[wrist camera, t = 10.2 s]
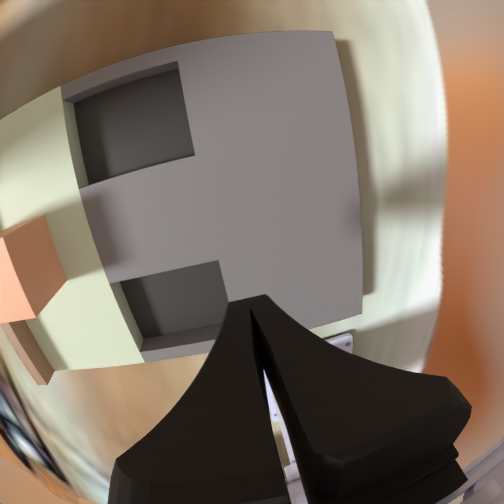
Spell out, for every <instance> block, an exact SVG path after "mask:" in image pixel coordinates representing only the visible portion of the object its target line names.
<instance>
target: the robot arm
mask: <svg viewBox="0 0 504 504" xmlns="http://www.w3.org/2000/svg"><path fill="white" fill-rule="evenodd" d="M347 342H348V343H347ZM346 343H347V344H346ZM352 349H353V336H352V335H351V334H350V333H346V334H342V335H339V336H336V337H333V338H329V339H326V340H323V339H322V338H320V337H319V336H317V335H315V334H314V333H312V332H311V331H309V330H308V329H306V328H305V327H304V326H302V325H301V324H300V323H298V322H297V321H296V320H294V319H293V318H292V317H291V316H289V315H288V314H287V313H286V312H285V311H283V310H282V309H281V308H280V307H279V306H278V305H277V304H276V303H275V302H274V301H273V300H272V299H271V298H270V297H269V296H268V295H266V294H263V295H258V296H254V297H250V298H245V299H241V300H236V301H231V302H229V303H228V304H227V306H226V311H225V315H224V319H223V322H222V325H221V327H220V330H219V332H218V335H217V337H216V340H215V342H214V344H213V346H212V348H211V351H210V353H209V355H208V357H207V359H206V361H205V362H204V364H203V366H202V368H201V369H200V371H199V373H198V374H197V376H196V377H195V379H194V381H193V382H192V384H191V385H190V386H189V388H188V389H187V390H186V392H185V393H184V394H183V396H182V397H181V399H180V400H179V401H178V402H177V403H176V405H175V406H174V407H173V408H172V409H171V411H170V412H169V413H168V414H167V415H166V416H165V417H164V418H163V419H162V420H161V421H160V422H159V423H158V424H157V425H156V426H155V427H154V428H153V429H152V430H151V431H150V432H149V433H148V434H147V435H146V436H145V437H143V438H142V439H141V440H140V441H138V442H137V443H136V444H135V445H133V446H132V447H131V448H130V449H128V450H127V451H126V452H125V453H123V454H122V455H121V456H119V457H118V458H116V460H115V465H114V468H113V471H112V475H111V481H110V488H109V496H108V504H448V503H450V502H451V501H453V500H454V499H456V498H457V497H459V496H460V495H461V494H463V493H464V492H465V494H464V496H463V501H462V503H460V504H504V437H502V438H501V439H500V440H499V441H498V442H497V443H495V444H494V445H493V446H492V447H491V448H489V449H488V450H487V451H486V452H485V453H483V454H482V455H481V456H480V457H478V458H477V459H476V460H474V461H473V462H472V463H470V464H469V465H467V466H466V467H465V468H463V469H461V468H460V466H459V464H458V463H457V461H456V460H455V459H456V458H457V457H458V451H457V450H456V448H455V447H454V445H453V443H454V442H455V440H456V439H457V437H458V436H459V435H460V433H461V432H462V430H463V429H464V427H465V426H466V424H467V422H468V420H469V418H470V415H471V409H472V406H471V405H470V403H469V402H468V401H467V400H466V398H465V397H464V396H463V394H462V393H461V392H460V391H459V389H458V388H456V386H455V385H454V384H453V383H452V382H451V381H450V380H449V379H448V378H447V377H443V376H435V375H428V374H422V373H415V372H409V371H405V370H401V369H397V368H393V367H389V366H385V365H382V364H379V363H375V362H372V361H370V360H367V359H364V358H362V357H359V356H356V355H354V354H352ZM268 403H269V405H268ZM269 407H270V411H271V415H272V419H273V422H279V424H280V428H281V431H282V435H283V438H284V442H285V445H286V449H287V453H288V456H289V460H290V463H291V465H289V466H286V467H285V468H284V469H285V473H286V476H287V479H286V480H285V477H284V474H283V470H282V466H281V462H280V458H279V455H278V451H277V447H276V443H275V439H274V435H273V431H272V425H271V420H270V412H269ZM0 504H1V503H0Z"/></svg>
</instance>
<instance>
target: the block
mask: <svg viewBox="0 0 504 504" xmlns="http://www.w3.org/2000/svg"><path fill="white" fill-rule="evenodd" d="M66 282H67V278H66V276H65V273H64V271H63V268H62V266H61V263H60V260H59V258H58V255H57V252H56V249H55V246H54V244H53V241H52V238H51V234H50V231H49V228H48V225H47V222H46V218H45V215H44V214H43V215H41V216H38V217H35V218H33V219H30V220H28V221H25V222H23V223H20V224H18V225H16V226H13V227H11V228H8V229H6V230H4V231H2V232H0V324H1V323H7V322H14V321H20V320H26V319H32V318H36V317H37V316H38V315H39V314H40V312H41V311H42V310H43V309H44V308H45V306H46V305H47V304H48V303H49V301H50V300H51V299H52V298H53V297H54V295H55V294H56V293H57V292H58V291H59V290H60V288H61V287H62V286H63V285H64V284H65V283H66Z"/></svg>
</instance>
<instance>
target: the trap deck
mask: <svg viewBox="0 0 504 504" xmlns="http://www.w3.org/2000/svg"><path fill="white" fill-rule="evenodd" d="M43 214H44V215H45V218H46V222H47V225H48V228H49V231H50V234H51V238H52V241H53V244H54V246H55V249H56V252H57V255H58V258H59V260H60V263H61V266H62V268H63V271H64V273H65V276H66V278H67V282H66V283H65V284H64V285H63V286H62V287H61V288H60V290H59V291H58V292H57V293H56V294H55V295H54V297H53V298H52V299H51V300H50V301H49V303H48V304H47V305H46V306H45V308H44V309H43V310H42V311H41V312H40V314H39V315H38V316H37V317H36V318H32V319H26V320H20V321H14V322H7V323H1V324H0V326H1V328H2V329H3V331H4V333H5V335H6V337H7V338H8V340H9V342H10V343H11V345H12V347H13V348H14V350H15V352H16V353H17V355H18V357H19V358H20V360H21V361H22V363H23V364H24V366H25V367H26V369H27V370H28V372H29V373H30V375H31V376H32V378H33V379H34V380H35V382H36V383H37V384H38V385H48V383H49V381H50V379H51V377H52V375H53V373H54V371H57V370H75V369H89V368H100V367H111V366H120V365H129V364H137V363H145V362H152V361H159V360H166V359H172V358H179V357H185V356H191V355H196V354H202V353H207V352H210V351H211V348H212V346H213V344H214V342H215V340H216V337H217V335H218V332H219V330H220V327H221V325H222V322H223V319H224V315H225V311H226V306H227V304H228V303H229V302H231V301H236V300H241V299H245V298H250V297H254V296H258V295H263V294H266V295H268V296H269V297H270V298H271V299H272V300H273V301H274V302H275V303H276V304H277V305H278V306H279V307H280V308H281V309H282V310H283V311H285V312H286V313H287V314H288V315H289V316H291V317H292V318H293V319H294V320H296V321H297V322H298V323H300V324H301V325H302V326H304V327H305V328H306V329H312V328H315V327H319V326H322V325H326V324H329V323H333V322H336V321H340V320H343V319H346V318H350V317H353V316H356V315H359V314H362V299H363V253H362V225H361V207H360V194H359V182H358V171H357V162H356V153H355V145H354V138H353V130H352V124H351V117H350V111H349V105H348V99H347V94H346V88H345V83H344V78H343V73H342V69H341V64H340V60H339V55H338V51H337V47H336V43H335V39H334V35H333V31H274V32H259V33H248V34H238V35H230V36H223V37H216V38H210V39H204V40H199V41H194V42H189V43H184V44H179V45H175V46H171V47H167V48H163V49H159V50H155V51H152V52H148V53H144V54H141V55H138V56H135V57H131V58H128V59H125V60H122V61H119V62H116V63H114V64H111V65H108V66H105V67H103V68H100V69H98V70H95V71H93V72H90V73H88V74H85V75H83V76H81V77H78V78H76V79H74V80H72V81H69V82H67V83H65V84H63V85H61V86H59V87H57V88H55V89H53V90H51V91H49V92H47V93H45V94H43V95H41V96H39V97H37V98H36V99H34V100H32V101H30V102H29V103H27V104H25V105H23V106H22V107H20V108H18V109H17V110H15V111H13V112H12V113H10V114H9V115H7V116H6V117H4V118H3V119H1V120H0V232H2V231H4V230H6V229H8V228H11V227H13V226H16V225H18V224H20V223H23V222H25V221H28V220H30V219H33V218H35V217H38V216H41V215H43Z"/></svg>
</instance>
